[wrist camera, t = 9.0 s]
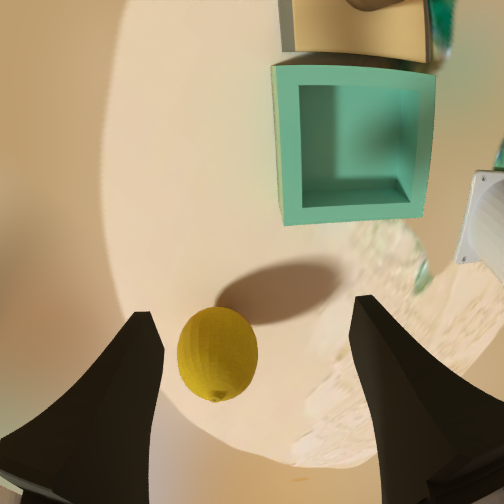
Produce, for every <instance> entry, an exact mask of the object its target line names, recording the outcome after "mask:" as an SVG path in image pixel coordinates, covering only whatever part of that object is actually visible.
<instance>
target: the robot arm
mask: <svg viewBox="0 0 504 504" xmlns="http://www.w3.org/2000/svg"><path fill="white" fill-rule="evenodd" d="M483 176H484V177H483ZM482 177H483V179H482ZM463 257H464V258H463ZM479 261H483V262H484V263H485V265H486V266H487V267H488V268H489V269H490V270H491V272H492V273H493V274H494V275H495V276H496V278H497V279H498V280H499V281H500V282H501V284H502V285H503V286H504V172H503V171H490V170H476V171H475V172H474V173H473V176H472V182H471V187H470V192H469V197H468V202H467V207H466V212H465V217H464V220H463V225H462V229H461V233H460V237H459V240H458V245H457V248H456V251H455V255H454V262H455V263H456V264H464V263H472V262H479ZM349 341H350V346H351V351H352V356H353V360H354V364H355V367H356V370H357V373H358V376H359V379H360V382H361V385H362V388H363V391H364V394H365V397H366V400H367V403H368V407H369V410H370V413H371V417H372V421H373V427H374V432H375V438H376V444H377V451H378V458H379V466H380V477H381V490H382V504H504V402H503V401H501V400H498V399H496V398H494V397H493V396H491V395H489V394H487V393H485V392H483V391H482V390H480V389H478V388H477V387H475V386H473V385H472V384H470V383H469V382H467V381H466V380H464V379H463V378H461V377H460V376H458V375H457V374H455V373H454V372H453V371H451V370H450V369H449V368H447V367H446V366H445V365H444V364H442V363H441V362H440V361H438V360H437V359H436V358H435V357H434V356H432V355H431V354H430V353H429V352H428V351H427V350H426V349H425V348H423V347H422V346H421V345H420V344H419V343H418V342H417V341H416V340H415V339H414V338H413V337H412V336H411V335H410V334H409V333H408V332H407V331H406V330H405V329H404V328H403V327H402V326H401V325H400V324H399V323H398V322H397V321H396V320H395V319H394V318H393V317H392V316H391V314H390V313H389V312H388V311H387V310H386V309H385V308H384V307H383V306H382V305H381V304H380V303H379V302H378V301H377V300H376V299H375V297H374V296H373V295H365V296H356V297H355V303H354V309H353V315H352V320H351V326H350V331H349ZM164 350H165V349H164V346H163V344H162V341H161V339H160V336H159V334H158V331H157V329H156V326H155V323H154V321H153V318H152V316H151V313H150V311H148V312H134V313H133V314H132V316H131V317H130V318H129V319H128V321H127V322H126V323H125V324H124V326H123V327H122V328H121V330H120V331H119V332H118V333H117V335H116V336H115V337H114V339H113V340H112V341H111V342H110V344H109V345H108V346H107V347H106V349H105V350H104V351H103V352H102V354H101V355H100V356H99V357H98V359H97V360H96V361H95V362H94V363H93V364H92V365H91V367H90V368H89V369H88V370H87V371H86V372H85V374H84V375H83V376H82V377H81V378H80V379H79V380H78V381H77V382H76V383H75V384H74V385H73V386H72V387H71V388H70V389H69V390H68V391H67V392H66V393H65V394H64V395H63V396H61V397H60V398H59V399H58V400H57V401H56V402H54V403H53V404H52V405H51V406H50V407H48V409H46V410H45V411H44V412H42V413H41V414H40V415H38V416H37V417H36V418H34V419H33V420H31V421H30V422H28V423H27V424H25V425H24V426H22V427H21V428H19V429H17V430H16V431H14V432H12V433H10V434H9V435H7V436H5V437H3V438H1V440H0V476H1V477H3V478H5V479H6V480H7V481H9V482H11V483H12V484H14V485H16V486H17V487H19V488H21V489H23V494H22V496H21V495H20V494H18V493H15V492H13V491H11V490H9V489H7V488H5V487H3V486H1V485H0V504H149V486H148V485H149V484H148V470H149V446H150V433H151V425H152V421H153V416H154V411H155V406H156V402H157V397H158V392H159V388H160V383H161V378H162V373H163V363H164Z"/></svg>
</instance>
